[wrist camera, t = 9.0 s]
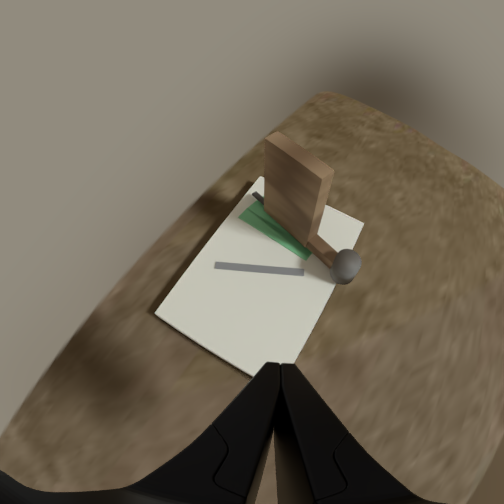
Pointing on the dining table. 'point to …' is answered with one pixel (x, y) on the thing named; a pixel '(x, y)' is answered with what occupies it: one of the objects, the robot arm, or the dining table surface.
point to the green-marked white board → (256, 286)
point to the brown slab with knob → (302, 201)
